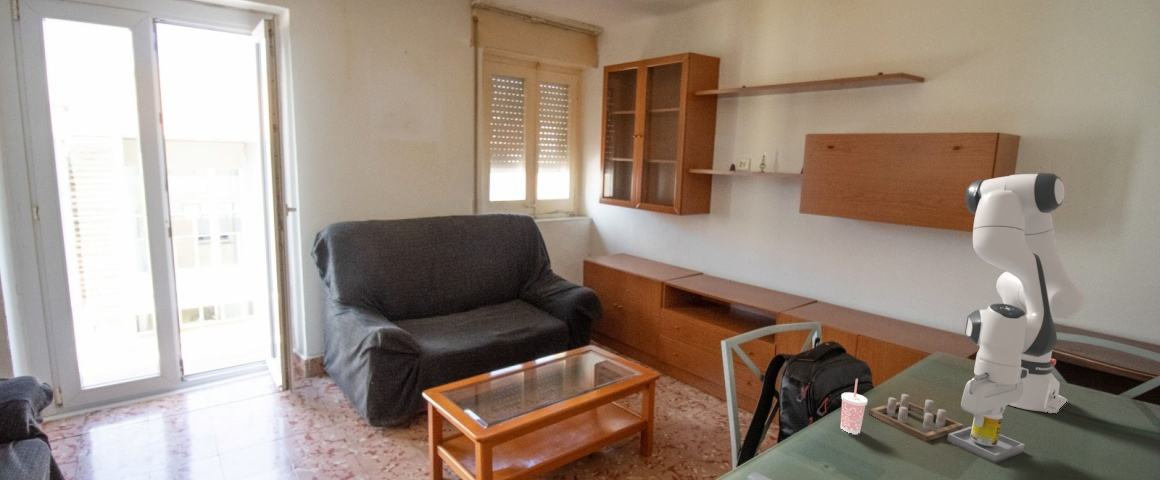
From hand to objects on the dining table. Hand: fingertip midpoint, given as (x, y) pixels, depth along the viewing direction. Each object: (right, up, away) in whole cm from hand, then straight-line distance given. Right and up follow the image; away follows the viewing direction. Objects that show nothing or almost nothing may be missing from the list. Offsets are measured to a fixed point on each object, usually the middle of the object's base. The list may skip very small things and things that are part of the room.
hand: (987, 423), depth 140 cm
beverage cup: (-31, -4, +6) cm, 32 cm away
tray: (0, -6, +1) cm, 6 cm away
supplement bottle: (0, -5, +1) cm, 5 cm away
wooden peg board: (-11, -4, +12) cm, 17 cm away
